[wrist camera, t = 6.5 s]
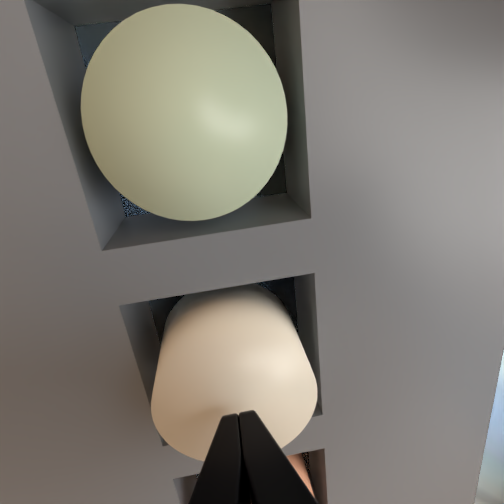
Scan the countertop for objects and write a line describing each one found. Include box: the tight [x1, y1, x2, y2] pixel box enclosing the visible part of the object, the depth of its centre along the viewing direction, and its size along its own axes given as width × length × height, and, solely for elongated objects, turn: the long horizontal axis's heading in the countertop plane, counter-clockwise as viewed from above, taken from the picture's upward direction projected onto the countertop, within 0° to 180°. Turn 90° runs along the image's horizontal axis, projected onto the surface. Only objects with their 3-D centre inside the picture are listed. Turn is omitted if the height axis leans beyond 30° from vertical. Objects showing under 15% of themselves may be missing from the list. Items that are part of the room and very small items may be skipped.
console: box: [0, 0, 504, 504], centre depth 12 cm, size 18×20×3 cm
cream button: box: [151, 283, 317, 461], centre depth 11 cm, size 4×4×3 cm
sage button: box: [81, 4, 287, 221], centre depth 9 cm, size 4×4×3 cm
